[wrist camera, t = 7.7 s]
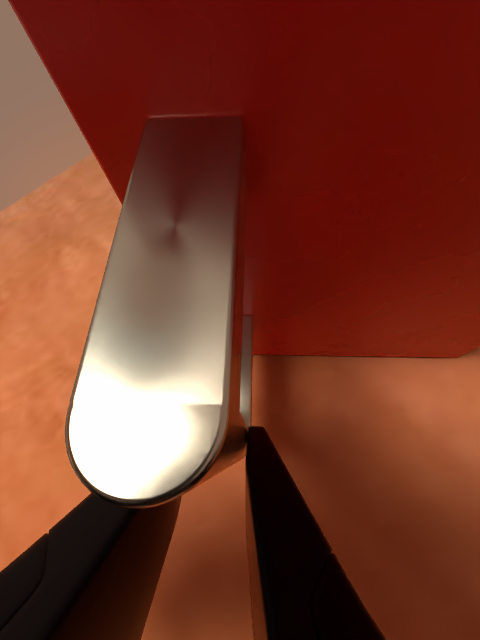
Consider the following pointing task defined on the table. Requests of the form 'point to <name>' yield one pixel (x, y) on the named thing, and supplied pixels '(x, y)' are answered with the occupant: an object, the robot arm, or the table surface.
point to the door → (261, 208)
